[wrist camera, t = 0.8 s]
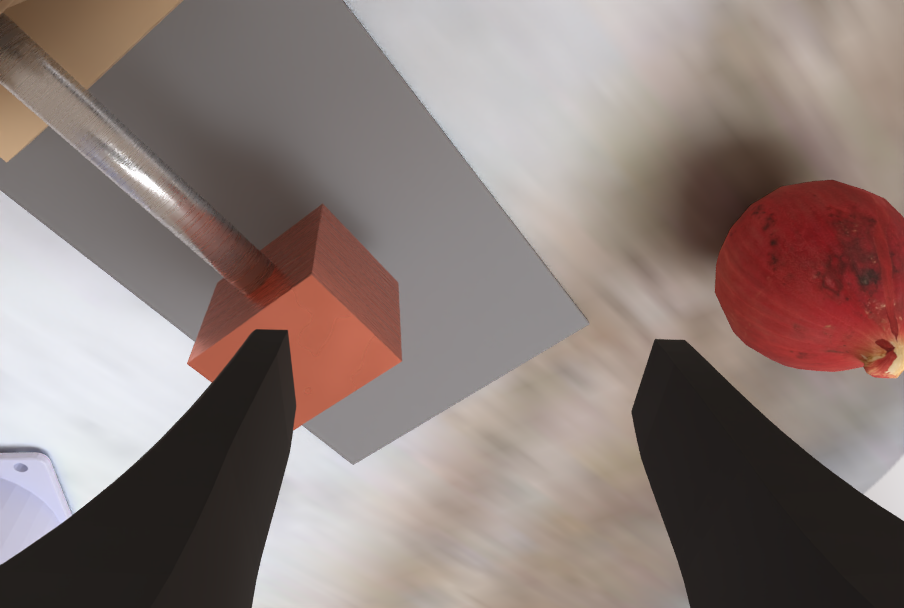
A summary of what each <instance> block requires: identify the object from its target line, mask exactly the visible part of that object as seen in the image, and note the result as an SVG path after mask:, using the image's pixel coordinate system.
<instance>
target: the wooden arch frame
mask: <svg viewBox="0 0 904 608" xmlns="http://www.w3.org/2000/svg"><path fill="white" fill-rule="evenodd" d="M182 1H183V0H0V15H1V14H2V13H4V14H5V15H7V16H8V17H9V18H10V19H11V20H12V21H13V22H14V23H15V24H16V25H17V26H18V27H19V28H21V29H22V30H23V31H24V32H25V33H26V34H27V35H28V36H29V37H30V38H31V39H32V40H33V41H35V42H36V43H37V44H38V45H39V46H40V47H41V48H42V49H43V50H44V51H45V52H46V53H47V54H49V55H50V56H51V57H52V58H53V59H54V60H55V61H56V62H57V63H58V64H59V65H60V66H61V67H63V68H64V69H65V70H66V71H67V72H68V73H69V74H70V75H71V76H72V77H73V78H74V79H75V80H77V81H78V82H79V83H80V84H81V85H82V86H83V87H84V88H85V89H86V90H88V89H89V88H90V87H91V86H92V85H93V84H94V83H95V82H96V81H97V80H98V79H99V78H101V77H102V76H103V75H104V74H105V73H106V72H107V71H108V70H109V69H110V68H111V67H112V66H113V65H115V64H116V63H117V62H118V61H119V60H120V59H121V58H122V57H123V56H124V55H125V54H126V53H127V52H128V51H130V50H131V49H132V48H133V47H134V46H135V45H136V44H137V43H138V42H139V41H140V40H141V39H142V38H143V37H145V36H146V35H147V34H148V33H149V32H150V31H151V30H152V29H153V28H154V27H155V26H156V25H157V24H159V23H160V22H161V21H162V20H163V19H164V18H165V17H166V16H167V15H168V14H169V13H170V12H171V11H172V10H174V9H175V8H176V7H177V6H178V5H179V4H180V3H181V2H182ZM47 127H48V125H47V124H46V123H45V122H44V121H43V120H41V119H40V118H39V117H38V116H37V115H36V114H35V113H33V112H32V111H31V110H30V109H29V108H28V107H26V106H25V105H24V104H23V103H22V102H21V101H20V100H18V99H17V98H16V97H15V96H14V95H13V94H11V93H10V92H9V91H8V90H7V89H6V88H5V87H3V86H2V85H1V84H0V158H2V159H3V160H4V161H5V162H8V161H9V160H11V159H12V158H13V157H14V156H15V155H16V154H18V153H19V152H20V151H21V150H22V149H24V148H25V147H26V146H27V145H28V144H30V143H31V142H32V141H33V140H34V139H35V138H36V137H37V136H38V135H39V134H40V133H41V132H43V131H44V130H45V129H46V128H47Z"/></svg>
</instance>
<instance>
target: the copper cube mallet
mask: <svg viewBox="0 0 904 608" xmlns="http://www.w3.org/2000/svg"><path fill="white" fill-rule="evenodd" d="M0 84H1V85H2V86H3V87H5V88H6V89H7V90H8V91H9V92H10V93H11V94H13V95H14V96H15V97H16V98H17V99H18V100H20V101H21V102H22V103H23V104H24V105H25V106H26V107H28V108H29V109H30V110H31V111H32V112H33V113H35V114H36V115H37V116H38V117H39V118H40V119H41V120H43V121H44V122H45V123H46V124H47V125H48V126H50V127H51V128H52V129H53V130H54V131H55V132H56V133H58V134H59V135H60V136H61V137H62V138H63V139H65V140H66V141H67V142H68V143H69V144H70V145H71V146H73V147H74V148H75V149H76V150H77V151H78V152H80V153H81V154H82V155H83V156H84V157H85V158H86V159H88V160H89V161H90V162H91V163H92V164H93V165H94V166H96V167H97V168H98V169H99V170H100V171H101V172H103V173H104V174H105V175H106V176H107V177H108V178H109V179H111V180H112V181H113V182H114V183H115V184H116V185H118V186H119V187H120V188H121V189H122V190H123V191H124V192H126V193H127V194H128V195H129V196H130V197H131V198H133V199H134V200H135V201H136V202H137V203H138V204H139V205H141V206H142V207H143V208H144V209H145V210H146V211H148V212H149V213H150V214H151V215H152V216H153V217H154V218H156V219H157V220H158V221H159V222H160V223H161V224H163V225H164V226H165V227H166V228H167V229H168V230H169V231H171V232H172V233H173V234H174V235H175V236H176V237H178V238H179V239H180V240H181V241H182V242H183V243H184V244H186V245H187V246H188V247H189V248H190V249H191V250H193V251H194V252H195V253H196V254H197V255H198V256H199V257H201V258H202V259H203V260H204V261H205V262H206V263H208V264H209V265H210V266H211V267H212V268H213V269H214V270H216V271H217V272H218V273H219V274H220V275H221V276H223V277H224V278H223V279H221V280H220V281H219V282H217V285H216V287H215V290H214V293H213V295H212V298H211V301H210V303H209V306H208V309H207V311H206V314H205V317H204V319H203V322H202V325H201V328H200V330H199V333H198V336H197V338H196V341H195V344H194V346H193V349H192V352H191V354H190V357H189V360H188V362H187V364H188V365H189V366H191V367H192V368H193V369H195V370H196V371H197V372H199V373H200V374H201V375H203V376H204V377H205V378H207V379H208V380H209V381H211V382H213V381H214V380H215V379H216V377H217V376H218V375H219V374H220V372H221V371H222V370H223V369H224V368H225V366H226V365H227V364H228V363H229V361H230V360H231V359H232V357H233V356H234V355H235V354H236V352H237V351H238V350H239V348H240V347H241V346H242V344H243V343H244V342H245V340H246V339H247V338H248V336H249V335H250V334H251V333H252V332H253V331H254V330H255V329H270V330H288V335H289V344H290V353H291V362H292V370H293V379H294V388H295V397H296V413H295V420H294V427H293V430H295V429H296V428H298V427H299V426H301V425H303V424H304V423H306V422H307V421H309V420H311V419H312V418H314V417H315V416H317V415H318V414H320V413H322V412H323V411H325V410H326V409H328V408H329V407H331V406H333V405H334V404H336V403H337V402H339V401H340V400H342V399H344V398H345V397H347V396H348V395H350V394H351V393H353V392H355V391H356V390H358V389H359V388H361V387H362V386H364V385H366V384H367V383H369V382H370V381H372V380H373V379H375V378H377V377H378V376H380V375H381V374H383V373H385V372H386V371H388V370H389V369H391V368H392V367H394V366H396V365H397V364H399V363H400V362H402V348H401V327H400V305H399V284H398V282H397V281H396V280H395V279H394V278H393V276H392V275H391V274H390V273H389V272H388V271H387V270H386V269H385V268H384V267H383V266H382V265H381V264H380V263H379V262H378V261H377V260H376V259H375V258H374V257H373V256H372V254H371V253H370V252H369V251H368V250H367V249H366V248H365V247H364V246H363V245H362V244H361V243H360V242H359V241H358V240H357V239H356V238H355V237H354V236H353V235H352V234H351V232H350V231H349V230H348V229H347V228H346V227H345V226H344V225H343V224H342V223H341V222H340V221H339V220H338V219H337V218H336V217H335V216H334V215H333V214H332V213H331V212H330V210H329V209H328V208H327V207H326V206H325V205H324V204H321V205H320V206H319V207H317V208H316V209H315V210H313V211H312V212H311V213H309V214H308V215H307V216H305V217H304V218H303V219H301V220H300V221H299V222H297V223H296V224H295V225H293V226H292V227H291V228H289V229H288V230H287V231H285V232H284V233H283V234H281V235H280V236H279V237H277V238H276V239H275V240H273V241H272V242H271V243H269V244H268V245H267V246H265V247H264V248H263V249H261V250H259V249H257V248H256V247H255V246H254V245H253V244H252V243H251V242H250V241H249V240H248V239H247V238H246V237H245V236H243V235H242V234H241V233H240V232H239V231H238V230H237V229H236V228H235V227H234V226H233V225H232V224H231V223H229V222H228V221H227V220H226V219H225V218H224V217H223V216H222V215H221V214H220V213H219V212H218V211H217V210H215V209H214V208H213V207H212V206H211V205H210V204H209V203H208V202H207V201H206V200H205V199H204V198H203V197H201V196H200V195H199V194H198V193H197V192H196V191H195V190H194V189H193V188H192V187H191V186H190V185H189V184H187V183H186V182H185V181H184V180H183V179H182V178H181V177H180V176H179V175H178V174H177V173H176V172H175V171H173V170H172V169H171V168H170V167H169V166H168V165H167V164H166V163H165V162H164V161H163V160H162V159H161V158H159V157H158V156H157V155H156V154H155V153H154V152H153V151H152V150H151V149H150V148H149V147H148V146H147V145H145V144H144V143H143V142H142V141H141V140H140V139H139V138H138V137H137V136H136V135H135V134H134V133H133V132H131V131H130V130H129V129H128V128H127V127H126V126H125V125H124V124H123V123H122V122H121V121H120V120H119V119H117V118H116V117H115V116H114V115H113V114H112V113H111V112H110V111H109V110H108V109H107V108H106V107H105V106H103V105H102V104H101V103H100V102H99V101H98V100H97V99H96V98H95V97H94V96H93V95H92V94H91V93H89V92H88V91H87V90H86V89H85V88H84V87H83V86H82V85H81V84H80V83H79V82H78V81H77V80H75V79H74V78H73V77H72V76H71V75H70V74H69V73H68V72H67V71H66V70H65V69H64V68H63V67H61V66H60V65H59V64H58V63H57V62H56V61H55V60H54V59H53V58H52V57H51V56H50V55H49V54H47V53H46V52H45V51H44V50H43V49H42V48H41V47H40V46H39V45H38V44H37V43H36V42H35V41H33V40H32V39H31V38H30V37H29V36H28V35H27V34H26V33H25V32H24V31H23V30H22V29H21V28H19V27H18V26H17V25H16V24H15V23H14V22H13V21H12V20H11V19H10V18H9V17H8V16H7V15H5V14H4V13H2V14H1V15H0Z"/></svg>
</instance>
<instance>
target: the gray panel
mask: <svg viewBox="0 0 904 608" xmlns="http://www.w3.org/2000/svg"><path fill="white" fill-rule="evenodd" d="M87 91H88V92H89V93H91V94H92V95H93V96H94V97H95V98H96V99H97V100H98V101H99V102H100V103H101V104H102V105H103V106H105V107H106V108H107V109H108V110H109V111H110V112H111V113H112V114H113V115H114V116H115V117H116V118H117V119H119V120H120V121H121V122H122V123H123V124H124V125H125V126H126V127H127V128H128V129H129V130H130V131H131V132H133V133H134V134H135V135H136V136H137V137H138V138H139V139H140V140H141V141H142V142H143V143H144V144H145V145H147V146H148V147H149V148H150V149H151V150H152V151H153V152H154V153H155V154H156V155H157V156H158V157H159V158H161V159H162V160H163V161H164V162H165V163H166V164H167V165H168V166H169V167H170V168H171V169H172V170H173V171H175V172H176V173H177V174H178V175H179V176H180V177H181V178H182V179H183V180H184V181H185V182H186V183H187V184H189V185H190V186H191V187H192V188H193V189H194V190H195V191H196V192H197V193H198V194H199V195H200V196H201V197H203V198H204V199H205V200H206V201H207V202H208V203H209V204H210V205H211V206H212V207H213V208H214V209H215V210H217V211H218V212H219V213H220V214H221V215H222V216H223V217H224V218H225V219H226V220H227V221H228V222H229V223H231V224H232V225H233V226H234V227H235V228H236V229H237V230H238V231H239V232H240V233H241V234H242V235H243V236H245V237H246V238H247V239H248V240H249V241H250V242H251V243H252V244H253V245H254V246H255V247H256V248H257V249H259V250H261V249H263V248H264V247H265V246H267V245H268V244H269V243H271V242H272V241H273V240H275V239H276V238H277V237H279V236H280V235H281V234H283V233H284V232H285V231H287V230H288V229H289V228H291V227H292V226H293V225H295V224H296V223H297V222H299V221H300V220H301V219H303V218H304V217H305V216H307V215H308V214H309V213H311V212H312V211H313V210H315V209H316V208H317V207H319V206H320V205H321V204H324V205H325V206H326V207H327V208H328V209H329V210H330V212H331V213H332V214H333V215H334V216H335V217H336V218H337V219H338V220H339V221H340V222H341V223H342V224H343V225H344V226H345V227H346V228H347V229H348V230H349V231H350V232H351V234H352V235H353V236H354V237H355V238H356V239H357V240H358V241H359V242H360V243H361V244H362V245H363V246H364V247H365V248H366V249H367V250H368V251H369V252H370V253H371V254H372V256H373V257H374V258H375V259H376V260H377V261H378V262H379V263H380V264H381V265H382V266H383V267H384V268H385V269H386V270H387V271H388V272H389V273H390V274H391V275H392V276H393V278H394V279H395V280H396V281H397V282H398V284H399V305H400V327H401V348H402V362H400V363H399V364H397V365H396V366H394V367H392V368H391V369H389V370H388V371H386V372H385V373H383V374H381V375H380V376H378V377H377V378H375V379H373V380H372V381H370V382H369V383H367V384H366V385H364V386H362V387H361V388H359V389H358V390H356V391H355V392H353V393H351V394H350V395H348V396H347V397H345V398H344V399H342V400H340V401H339V402H337V403H336V404H334V405H333V406H331V407H329V408H328V409H326V410H325V411H323V412H322V413H320V414H318V415H317V416H315V417H314V418H312V419H311V420H309V421H307V422H306V423H304V424H303V425H302V426H304V427H305V428H306V429H308V430H309V431H310V432H311V433H313V434H314V435H315V436H317V437H318V438H319V439H320V440H322V441H323V442H324V443H326V444H327V445H328V446H329V447H331V448H332V449H333V450H335V451H336V452H337V453H338V454H340V455H341V456H342V457H344V458H345V459H346V460H347V461H349V462H350V463H351V464H353V465H354V464H356V463H357V462H359V461H361V460H362V459H364V458H366V457H367V456H369V455H371V454H372V453H374V452H376V451H377V450H379V449H381V448H382V447H384V446H386V445H387V444H389V443H391V442H392V441H394V440H396V439H398V438H399V437H401V436H403V435H404V434H406V433H408V432H409V431H411V430H413V429H414V428H416V427H418V426H419V425H421V424H423V423H424V422H426V421H428V420H429V419H431V418H433V417H434V416H436V415H438V414H439V413H441V412H443V411H444V410H446V409H448V408H450V407H451V406H453V405H455V404H456V403H458V402H460V401H461V400H463V399H465V398H466V397H468V396H470V395H471V394H473V393H475V392H476V391H478V390H480V389H481V388H483V387H485V386H486V385H488V384H490V383H491V382H493V381H495V380H497V379H498V378H500V377H502V376H503V375H505V374H507V373H508V372H510V371H512V370H513V369H515V368H517V367H518V366H520V365H522V364H523V363H525V362H527V361H528V360H530V359H532V358H533V357H535V356H537V355H538V354H540V353H542V352H543V351H545V350H547V349H549V348H550V347H552V346H554V345H555V344H557V343H559V342H560V341H562V340H564V339H565V338H567V337H569V336H570V335H572V334H574V333H575V332H577V331H579V330H580V329H582V328H584V327H585V326H587V325H589V322H588V320H587V319H586V318H585V316H584V315H583V314H582V312H581V311H580V310H579V308H578V307H577V306H576V304H575V303H574V302H573V301H572V299H571V298H570V297H569V295H568V294H567V293H566V291H565V290H564V289H563V287H562V286H561V285H560V284H559V282H558V281H557V280H556V278H555V277H554V276H553V274H552V273H551V272H550V270H549V269H548V268H547V267H546V265H545V264H544V263H543V261H542V260H541V259H540V257H539V256H538V255H537V253H536V252H535V251H534V250H533V248H532V247H531V246H530V244H529V243H528V242H527V240H526V239H525V238H524V236H523V235H522V234H521V233H520V231H519V230H518V229H517V227H516V226H515V225H514V223H513V222H512V221H511V219H510V218H509V217H508V216H507V214H506V213H505V212H504V210H503V209H502V208H501V206H500V205H499V204H498V202H497V201H496V200H495V199H494V197H493V196H492V195H491V193H490V192H489V191H488V189H487V188H486V187H485V185H484V184H483V183H482V182H481V180H480V179H479V178H478V176H477V175H476V174H475V172H474V171H473V170H472V168H471V167H470V166H469V165H468V163H467V162H466V161H465V159H464V158H463V157H462V155H461V154H460V153H459V151H458V150H457V149H456V148H455V146H454V145H453V144H452V142H451V141H450V140H449V138H448V137H447V136H446V134H445V133H444V132H443V131H442V129H441V128H440V127H439V125H438V124H437V123H436V121H435V120H434V119H433V117H432V116H431V115H430V114H429V112H428V111H427V110H426V108H425V107H424V106H423V104H422V103H421V102H420V100H419V99H418V98H417V97H416V95H415V94H414V93H413V91H412V90H411V89H410V87H409V86H408V85H407V83H406V82H405V81H404V80H403V78H402V77H401V76H400V74H399V73H398V72H397V70H396V69H395V68H394V66H393V65H392V64H391V63H390V61H389V60H388V59H387V57H386V56H385V55H384V53H383V52H382V51H381V49H380V48H379V47H378V46H377V44H376V43H375V42H374V40H373V39H372V38H371V36H370V35H369V34H368V32H367V31H366V30H365V29H364V27H363V26H362V25H361V23H360V22H359V21H358V19H357V18H356V17H355V15H354V14H353V13H352V12H351V10H350V9H349V8H348V6H347V5H346V4H345V2H344V1H343V0H183V1H182V2H181V3H180V4H179V5H178V6H177V7H176V8H175V9H174V10H172V11H171V12H170V13H169V14H168V15H167V16H166V17H165V18H164V19H163V20H162V21H161V22H160V23H159V24H157V25H156V26H155V27H154V28H153V29H152V30H151V31H150V32H149V33H148V34H147V35H146V36H145V37H143V38H142V39H141V40H140V41H139V42H138V43H137V44H136V45H135V46H134V47H133V48H132V49H131V50H130V51H128V52H127V53H126V54H125V55H124V56H123V57H122V58H121V59H120V60H119V61H118V62H117V63H116V64H115V65H113V66H112V67H111V68H110V69H109V70H108V71H107V72H106V73H105V74H104V75H103V76H102V77H101V78H99V79H98V80H97V81H96V82H95V83H94V84H93V85H92V86H91V87H90V88H89V89H88V90H87ZM0 190H1V191H2V192H3V193H5V194H6V195H7V196H9V197H10V198H11V199H12V200H14V201H15V202H16V203H18V204H19V205H20V206H21V207H23V208H24V209H25V210H27V211H28V212H29V213H30V214H32V215H33V216H34V217H35V218H37V219H38V220H39V221H41V222H42V223H43V224H44V225H46V226H47V227H48V228H50V229H51V230H52V231H53V232H55V233H56V234H57V235H59V236H60V237H61V238H62V239H64V240H65V241H66V242H68V243H69V244H70V245H71V246H73V247H74V248H75V249H77V250H78V251H79V252H80V253H82V254H83V255H84V256H86V257H87V258H88V259H89V260H91V261H92V262H93V263H95V264H96V265H97V266H98V267H100V268H101V269H102V270H104V271H105V272H106V273H107V274H109V275H110V276H111V277H113V278H114V279H115V280H116V281H118V282H119V283H120V284H121V285H123V286H124V287H125V288H127V289H128V290H129V291H130V292H132V293H133V294H134V295H136V296H137V297H138V298H139V299H141V300H142V301H143V302H145V303H146V304H147V305H148V306H150V307H151V308H152V309H154V310H155V311H156V312H157V313H159V314H160V315H161V316H163V317H164V318H165V319H166V320H168V321H169V322H170V323H172V324H173V325H174V326H175V327H177V328H178V329H179V330H181V331H182V332H183V333H184V334H186V335H187V336H188V337H190V338H191V339H192V340H193V341H196V338H197V336H198V333H199V330H200V328H201V325H202V322H203V319H204V317H205V314H206V311H207V309H208V306H209V303H210V301H211V298H212V295H213V293H214V290H215V287H216V285H217V282H219V281H220V280H221V279H223V278H224V277H223V276H221V275H220V274H219V273H218V272H217V271H216V270H214V269H213V268H212V267H211V266H210V265H209V264H208V263H206V262H205V261H204V260H203V259H202V258H201V257H199V256H198V255H197V254H196V253H195V252H194V251H193V250H191V249H190V248H189V247H188V246H187V245H186V244H184V243H183V242H182V241H181V240H180V239H179V238H178V237H176V236H175V235H174V234H173V233H172V232H171V231H169V230H168V229H167V228H166V227H165V226H164V225H163V224H161V223H160V222H159V221H158V220H157V219H156V218H154V217H153V216H152V215H151V214H150V213H149V212H148V211H146V210H145V209H144V208H143V207H142V206H141V205H139V204H138V203H137V202H136V201H135V200H134V199H133V198H131V197H130V196H129V195H128V194H127V193H126V192H124V191H123V190H122V189H121V188H120V187H119V186H118V185H116V184H115V183H114V182H113V181H112V180H111V179H109V178H108V177H107V176H106V175H105V174H104V173H103V172H101V171H100V170H99V169H98V168H97V167H96V166H94V165H93V164H92V163H91V162H90V161H89V160H88V159H86V158H85V157H84V156H83V155H82V154H81V153H80V152H78V151H77V150H76V149H75V148H74V147H73V146H71V145H70V144H69V143H68V142H67V141H66V140H65V139H63V138H62V137H61V136H60V135H59V134H58V133H56V132H55V131H54V130H53V129H52V128H51V127H50V126H48V127H47V128H46V129H45V130H44V131H43V132H41V133H40V134H39V135H38V136H37V137H36V138H35V139H34V140H33V141H32V142H31V143H30V144H28V145H27V146H26V147H25V148H24V149H22V150H21V151H20V152H19V153H18V154H16V155H15V156H14V157H13V158H12V159H11V160H9V161H8V162H5V161H4V160H3V159H2V158H0Z"/></svg>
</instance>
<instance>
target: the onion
mask: <svg viewBox="0 0 904 608" xmlns="http://www.w3.org/2000/svg"><path fill="white" fill-rule="evenodd" d="M715 293H716V296H717V298H718V300H719V302H720V305H721V307H722V309H723V311H724V313H725V315H726V317H727V319H728V322H729V324H730V326H731V328H732V330H733V332H734V333H735V334H736V335H737V336H738V337H739V338H740V339H741V340H742V341H743V342H744V343H745V344H746V345H747V346H749V347H750V348H752V349H754V350H756V351H757V352H759V353H761V354H762V355H764V356H766V357H768V358H769V359H771V360H774V361H776V362H778V363H780V364H782V365H785V366H789V367H793V368H797V369H805V370H815V371H829V372H835V371H844V370H849V369H854V368H859V367H864V369H865V371H866V372H867V374H869V375H871V376H873V377H878V378H897V377H898V376H899V375H900V374H901V373H902V372H903V371H904V218H903V216H902V215H901V214H900V213H899V212H898V211H897V210H896V209H895V208H894V207H893V206H892V205H891V204H890V203H889V202H888V201H887V200H886V199H884V198H882V197H880V196H877V195H875V194H873V193H871V192H868V191H866V190H864V189H860V188H857V187H854V186H851V185H847V184H844V183H841V182H838V181H834V180H824V181H811V182H805V183H799V184H793V185H787V186H781V187H780V188H778V189H776V190H775V191H773V192H771V193H770V194H768V195H766V196H765V197H763V198H761V199H760V200H758V201H756V202H755V203H753V204H751V205H750V206H749V208H748V209H747V210H746V211H745V212H744V213H743V214H742V216H741V217H740V218H739V219H738V220H737V221H736V222H735V224H734V225H733V226H732V227H731V228H730V230H729V232H728V235H727V237H726V239H725V241H724V243H723V245H722V247H721V250H720V252H719V255H718V259H717V263H716V279H715Z"/></svg>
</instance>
